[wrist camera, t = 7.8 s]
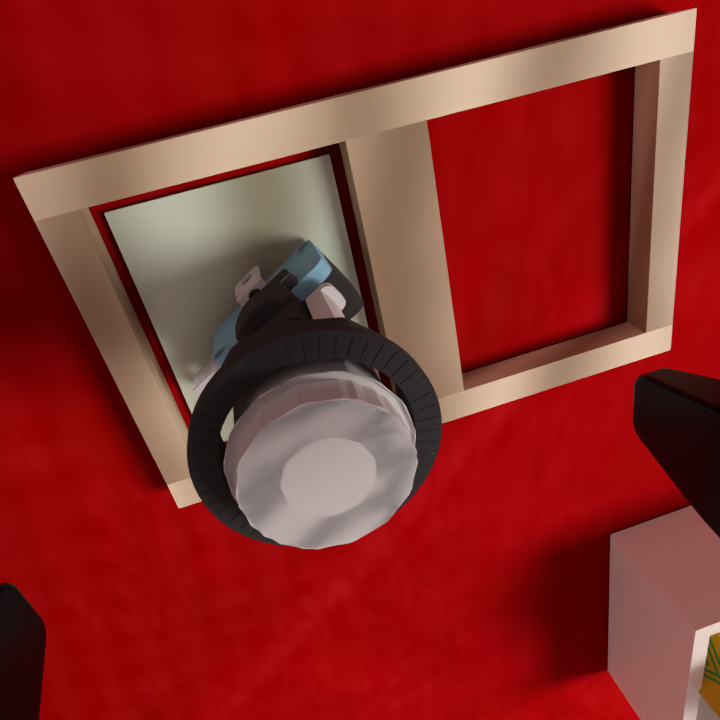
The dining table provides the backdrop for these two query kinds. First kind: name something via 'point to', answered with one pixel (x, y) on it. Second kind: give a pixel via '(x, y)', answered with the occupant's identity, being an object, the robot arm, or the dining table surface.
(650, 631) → the crayon stand
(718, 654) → the crayon box
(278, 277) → the push button
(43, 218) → the wooden double frame
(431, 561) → the dining table surface
